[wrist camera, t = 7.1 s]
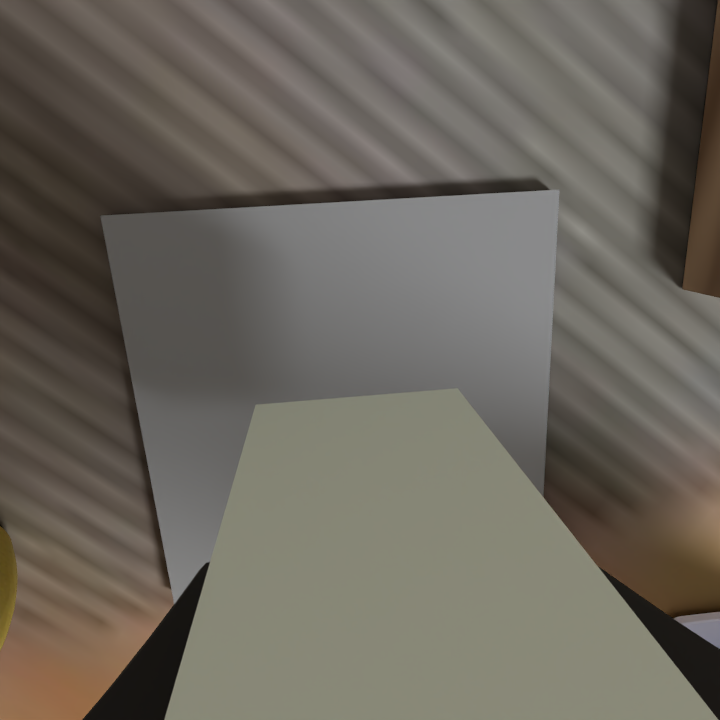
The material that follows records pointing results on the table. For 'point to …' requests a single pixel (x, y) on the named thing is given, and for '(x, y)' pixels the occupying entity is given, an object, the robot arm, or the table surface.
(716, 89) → the wooden square frame
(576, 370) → the table surface
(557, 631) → the sage link block
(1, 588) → the flower pot
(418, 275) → the charcoal mat
